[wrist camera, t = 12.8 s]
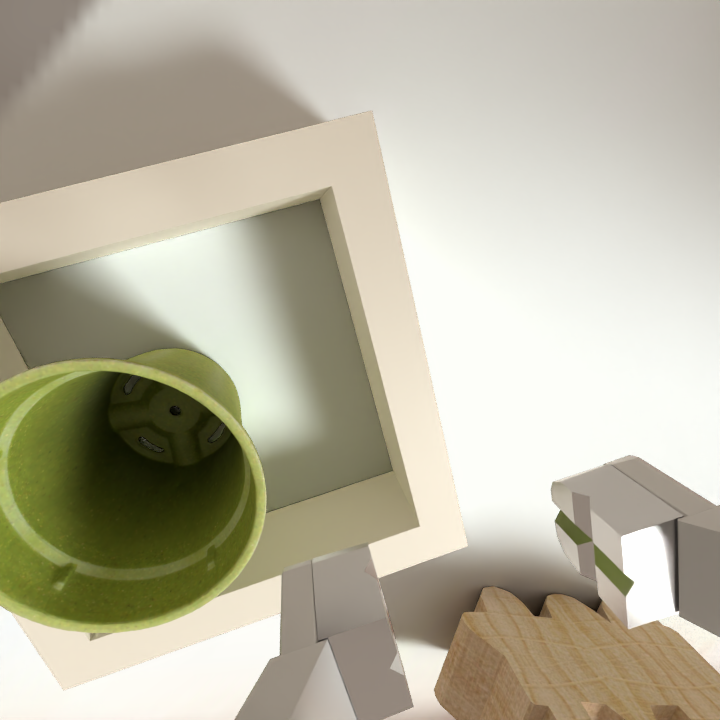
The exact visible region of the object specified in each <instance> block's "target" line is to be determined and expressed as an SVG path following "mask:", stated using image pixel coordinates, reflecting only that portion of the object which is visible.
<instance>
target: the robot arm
mask: <svg viewBox="0 0 720 720" xmlns="http://www.w3.org/2000/svg"><path fill="white" fill-rule="evenodd" d="M551 495H552V501H553V502H554V503H555V504H556V505H557V506H558V507H559V508H560V509H561V510H560V512H559V514H558V516H557V518H556V520H555V526H556V532H557V537H558V539H559V542H560V544H561V547H562V549H563V551H564V553H565V555H566V556H567V558H568V559H569V561H570V563H571V564H572V565H573V566H574V567H575V569H576V570H577V571H578V572H579V573H580V575H583V576H585V577H587V578H590V579H592V580H595V581H597V587H598V595H599V597H600V598H601V599H602V600H603V601H604V602H605V603H606V605H607V606H608V607H609V608H610V609H611V610H612V611H613V613H614V614H615V615H616V616H617V617H618V618H619V619H620V621H621V622H622V623H623V624H624V625H625V626H626V627H627V629H631V628H634V627H637V626H640V625H643V624H646V623H650V622H653V621H656V620H659V619H662V618H665V617H668V616H671V615H674V614H677V613H679V616H680V617H682V618H684V619H686V620H688V621H689V622H691V623H693V624H695V625H697V626H699V627H701V628H703V629H705V630H707V631H709V632H711V633H713V634H715V635H717V636H719V637H720V505H719V506H716V505H714V504H713V503H711V502H710V501H708V500H706V499H705V498H703V497H702V496H700V495H698V494H697V493H695V492H693V491H692V490H690V489H689V488H687V487H685V486H684V485H682V484H681V483H679V482H677V481H676V480H674V479H673V478H671V477H669V476H668V475H666V474H665V473H663V472H661V471H660V470H658V469H657V468H655V467H653V466H652V465H650V464H649V463H647V462H645V461H644V460H642V459H641V458H639V457H636V456H631V455H628V456H625V457H623V458H620V459H617V460H614V461H611V462H608V463H605V464H604V465H602V466H599V467H596V468H593V469H590V470H587V471H584V472H581V473H578V474H575V475H572V476H569V477H566V478H563V479H560V480H557V481H554V482H553V483H552V487H551ZM395 639H396V638H395V635H394V631H393V627H392V624H391V620H390V617H389V613H388V609H387V606H386V602H385V599H384V595H383V592H382V588H381V585H380V581H379V579H378V576H377V572H376V568H375V565H374V561H373V558H372V555H371V552H370V548H369V545H368V542H366V543H363V544H359V545H356V546H353V547H349V548H346V549H342V550H339V551H336V552H332V553H329V554H326V555H322V556H319V557H316V558H313V560H307V561H304V562H301V563H298V564H294V565H291V566H288V567H284V570H283V573H282V579H281V624H280V656H277V657H275V658H272V659H270V660H269V662H268V664H267V665H266V667H265V669H264V671H263V672H262V674H261V676H260V677H259V679H258V681H257V682H256V684H255V686H254V687H253V689H252V691H251V693H250V694H249V696H248V698H247V699H246V701H245V703H244V704H243V706H242V708H241V709H240V711H239V713H238V715H237V716H236V718H235V720H382V719H385V718H387V717H390V716H392V715H395V714H397V713H400V712H402V711H405V710H407V709H410V708H412V707H413V703H412V699H411V695H410V691H409V688H408V684H407V680H406V676H405V672H404V668H403V665H402V661H401V658H400V654H399V651H398V647H397V644H396V640H395Z"/></svg>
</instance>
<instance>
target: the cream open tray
mask: <svg viewBox="0 0 720 720" xmlns="http://www.w3.org/2000/svg"><path fill="white" fill-rule="evenodd" d="M317 199H320V202H321V205H322V209H323V213H324V216H325V220H326V224H327V228H328V231H329V235H330V239H331V242H332V246H333V250H334V253H335V257H336V261H337V265H338V268H339V272H340V276H341V279H342V283H343V287H344V291H345V294H346V298H347V302H348V305H349V309H350V313H351V317H352V320H353V324H354V328H355V331H356V335H357V339H358V342H359V346H360V350H361V354H362V357H363V361H364V365H365V368H366V372H367V376H368V380H369V383H370V387H371V391H372V394H373V398H374V402H375V406H376V409H377V413H378V417H379V420H380V424H381V428H382V431H383V435H384V439H385V443H386V446H387V450H388V454H389V457H390V461H391V465H392V469H393V471H391V472H388V473H385V474H382V475H379V476H376V477H373V478H370V479H367V480H364V481H361V482H358V483H355V484H352V485H349V486H346V487H343V488H340V489H337V490H334V491H331V492H328V493H325V494H322V495H319V496H316V497H313V498H310V499H307V500H304V501H301V502H298V503H295V504H292V505H289V506H286V507H283V508H280V509H277V510H274V511H271V512H268V513H266V515H265V521H264V526H263V530H262V533H261V536H260V539H259V542H258V545H257V547H256V549H255V551H254V553H253V555H252V557H251V558H250V560H249V561H248V563H247V564H246V566H245V567H244V569H243V570H242V572H241V573H240V574H239V576H238V577H237V578H236V579H235V580H234V581H233V582H232V583H231V584H230V585H229V586H228V587H227V588H226V589H225V590H224V591H222V592H221V593H220V594H219V595H218V596H217V597H215V598H214V599H213V600H211V601H210V602H208V603H207V604H205V605H204V606H202V607H201V608H199V609H197V610H195V611H193V612H192V613H189V614H187V615H185V616H183V617H180V618H178V619H176V620H173V621H171V622H168V623H165V624H162V625H159V626H155V627H151V628H146V629H142V630H137V631H128V632H120V633H85V632H76V631H66V630H61V629H57V628H52V627H48V626H44V625H42V624H39V623H36V622H33V621H30V620H28V619H26V618H23V617H21V616H18V615H16V614H14V613H12V612H11V613H12V615H13V616H14V618H15V619H16V620H17V622H18V623H19V625H20V626H21V628H22V629H23V631H24V632H25V634H26V635H27V637H28V638H29V640H30V641H31V643H32V644H33V646H34V647H35V649H36V650H37V652H38V653H39V655H40V656H41V658H42V659H43V661H44V662H45V664H46V665H47V667H48V668H49V670H50V671H51V673H52V674H53V675H54V677H55V678H56V680H57V681H58V683H59V684H60V686H61V687H62V689H63V690H67V689H69V688H72V687H75V686H78V685H81V684H83V683H86V682H89V681H92V680H95V679H97V678H100V677H103V676H106V675H109V674H111V673H114V672H117V671H120V670H123V669H126V668H128V667H131V666H134V665H137V664H140V663H142V662H145V661H148V660H151V659H154V658H156V657H159V656H162V655H165V654H168V653H170V652H173V651H176V650H179V649H182V648H184V647H187V646H190V645H193V644H196V643H198V642H201V641H204V640H207V639H210V638H212V637H215V636H218V635H221V634H224V633H226V632H229V631H232V630H235V629H238V628H240V627H243V626H246V625H249V624H252V623H254V622H257V621H260V620H263V619H266V618H268V617H271V616H274V615H277V614H280V613H281V579H282V573H283V570H284V567H288V566H291V565H294V564H298V563H301V562H304V561H307V560H313V558H316V557H319V556H322V555H326V554H329V553H332V552H336V551H339V550H342V549H346V548H349V547H353V546H356V545H359V544H363V543H366V542H368V545H369V548H370V552H371V555H372V558H373V561H374V565H375V568H376V572H377V576H378V578H381V577H383V576H386V575H389V574H392V573H395V572H397V571H400V570H403V569H406V568H409V567H411V566H414V565H417V564H420V563H423V562H425V561H428V560H431V559H434V558H437V557H439V556H442V555H445V554H448V553H451V552H453V551H456V550H459V549H462V548H465V547H467V546H468V544H467V539H466V535H465V530H464V526H463V521H462V516H461V512H460V507H459V503H458V498H457V494H456V489H455V485H454V480H453V476H452V471H451V467H450V462H449V457H448V453H447V448H446V444H445V439H444V435H443V430H442V426H441V421H440V417H439V412H438V408H437V403H436V398H435V394H434V389H433V385H432V380H431V376H430V371H429V367H428V362H427V358H426V353H425V349H424V344H423V339H422V335H421V330H420V326H419V321H418V317H417V312H416V308H415V303H414V299H413V294H412V290H411V285H410V280H409V276H408V271H407V267H406V262H405V258H404V253H403V249H402V244H401V240H400V235H399V231H398V226H397V221H396V217H395V212H394V208H393V203H392V199H391V194H390V190H389V185H388V181H387V176H386V172H385V167H384V162H383V158H382V153H381V149H380V144H379V140H378V135H377V131H376V126H375V122H374V117H373V113H372V111H368V112H364V113H360V114H356V115H352V116H348V117H344V118H340V119H336V120H332V121H328V122H324V123H320V124H316V125H311V126H307V127H303V128H299V129H295V130H291V131H287V132H283V133H279V134H275V135H271V136H267V137H263V138H259V139H255V140H251V141H247V142H243V143H239V144H235V145H231V146H227V147H223V148H219V149H215V150H211V151H207V152H202V153H198V154H194V155H190V156H186V157H182V158H178V159H174V160H170V161H166V162H162V163H158V164H154V165H150V166H146V167H142V168H138V169H134V170H130V171H126V172H122V173H118V174H114V175H110V176H106V177H102V178H98V179H94V180H89V181H85V182H81V183H77V184H73V185H69V186H65V187H61V188H57V189H53V190H49V191H45V192H41V193H37V194H33V195H29V196H25V197H21V198H17V199H13V200H9V201H5V202H1V203H0V284H1V283H4V282H8V281H12V280H16V279H19V278H23V277H27V276H31V275H35V274H38V273H42V272H46V271H50V270H53V269H57V268H61V267H65V266H68V265H72V264H76V263H80V262H84V261H87V260H91V259H95V258H99V257H102V256H106V255H110V254H114V253H118V252H121V251H125V250H129V249H133V248H136V247H140V246H144V245H148V244H151V243H155V242H159V241H163V240H167V239H170V238H174V237H178V236H182V235H185V234H189V233H193V232H197V231H201V230H204V229H208V228H212V227H216V226H219V225H223V224H227V223H231V222H234V221H238V220H242V219H246V218H250V217H253V216H257V215H261V214H265V213H268V212H272V211H276V210H280V209H284V208H287V207H291V206H295V205H299V204H302V203H306V202H310V201H314V200H317ZM26 370H29V369H28V367H27V366H26V364H25V362H24V360H23V358H22V356H21V354H20V352H19V350H18V349H17V347H16V345H15V343H14V341H13V339H12V337H11V335H10V334H9V332H8V330H7V328H6V326H5V324H4V322H3V320H2V319H1V317H0V382H2V381H4V380H6V379H8V378H10V377H12V376H14V375H16V374H18V373H21V372H24V371H26Z"/></svg>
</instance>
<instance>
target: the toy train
mask: <svg viewBox="0 0 720 720" xmlns="http://www.w3.org/2000/svg"><path fill="white" fill-rule="evenodd" d="M434 691H435V696H436V698H437V700H438V701H439V703H440V705H441V706H442V707H443V708H444V709H445V710H447V711H448V712H449V713H450V714H451V715H452V716H453V717H454V718H455V719H456V720H720V674H719V673H718V672H717V671H716V670H715V669H714V668H713V667H712V666H711V665H710V664H709V663H708V662H707V661H706V660H705V659H704V658H703V657H702V656H701V655H700V654H699V653H698V652H697V651H696V650H695V649H694V648H693V647H692V646H691V645H690V644H689V643H688V642H687V641H686V640H685V639H684V638H683V637H682V636H681V635H680V634H679V633H677V632H676V631H674V630H673V629H671V628H669V627H666V626H663V625H662V624H661V623H660V622H659V621H658V620H656V621H653V622H650V623H646V624H643V625H640V626H637V627H634V628H631V629H627V627H626V626H625V625H624V624H623V623H622V622H621V621H620V619H619V618H618V617H617V616H616V615H615V614H614V613H613V611H612V610H611V609H610V608H609V607H608V606H607V605H606V603H605V602H604V601H603V600H602V602H601V604H600V606H599V608H598V610H597V613H596V612H595V611H594V610H592V609H591V608H589V607H588V606H586V605H584V604H583V603H581V602H580V601H578V600H576V599H575V598H573V597H570V596H566V595H563V594H552V595H548V596H547V597H546V600H545V602H544V605H543V607H542V609H541V612H540V614H539V617H538V616H534V615H533V614H532V613H531V612H530V611H529V609H528V608H527V607H526V606H525V605H524V603H523V602H522V601H520V600H519V599H518V598H517V597H515V596H514V595H513V594H512V593H510V592H508V591H506V590H503V589H500V588H497V587H495V586H491V587H485V588H483V589H482V592H481V595H480V597H479V600H478V602H477V605H476V607H475V610H474V612H464V613H463V614H462V616H461V619H460V622H459V624H458V627H457V630H456V632H455V635H454V638H453V640H452V643H451V646H450V648H449V651H448V654H447V656H446V659H445V662H444V664H443V667H442V670H441V672H440V675H439V678H438V680H437V683H436V686H435V688H434Z"/></svg>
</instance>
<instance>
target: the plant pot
mask: <svg viewBox="0 0 720 720" xmlns="http://www.w3.org/2000/svg"><path fill="white" fill-rule="evenodd" d="M132 375H137V376H141V378H140V379H139V381H137V383H136V384H135V385H134V387H133V388H132V392H131V393H130V394H128V395H126V394H125V392H124V386H125V384H126V383H127V382H128V380H129V379H130V378H131V376H132ZM173 406H177V407H178V408H180V410H181V413H180V414H179V415H176V416H175V415H172V414H171V412H170V411H169V410H170V408H171V407H173ZM222 422H223V423H224V424H225V428H224V431H223V433H222V435H221V436H220V437H219V438H218V439H217V440H216V441H214V442H212V443H210V442H208V438H209V437H211V436H212V434H213V433H214V432H215V431H216V430H217V429H218V427H219V425H221V423H222ZM139 437H143V438H145V439H147V440H148V441H149V442H150V443H151V444H153V445H155V446H157V447H160V448H162V449H164V451H163V452H160V453H159V452H156V451H153V450H151V449H149V448H147V447H145V446H144V445H142V444H141V443H140V441H139ZM266 502H267V494H266V484H265V477H264V472H263V468H262V464H261V461H260V458H259V455H258V453H257V450H256V448H255V446H254V444H253V442H252V440H251V438H250V437H249V435H248V434H247V432H246V430H245V429H244V428H243V426H242V421H241V408H240V401H239V396H238V393H237V390H236V387H235V385H234V383H233V382H232V380H231V378H230V377H229V375H228V374H227V373H226V372H225V371H224V370H223V369H222V368H221V367H220V366H219V365H218V364H217V363H215V362H214V361H213V360H211V359H209V358H208V357H206V356H204V355H201V354H199V353H196V352H193V351H190V350H186V349H178V348H170V349H158V350H153V351H150V352H146V353H143V354H140V355H137V356H134V357H132V358H129V359H126V360H120V359H111V358H80V359H71V360H64V361H58V362H53V363H49V364H46V365H42V366H38V367H35V368H32V369H29V370H26V371H24V372H21V373H18V374H16V375H14V376H12V377H10V378H8V379H6V380H4V381H2V382H0V606H2V607H3V608H5V609H6V610H8V611H10V612H12V613H14V614H16V615H18V616H21V617H23V618H26V619H28V620H30V621H33V622H36V623H39V624H42V625H44V626H48V627H52V628H57V629H61V630H66V631H76V632H85V633H120V632H128V631H137V630H142V629H146V628H151V627H155V626H159V625H162V624H165V623H168V622H171V621H173V620H176V619H178V618H180V617H183V616H185V615H187V614H189V613H192V612H193V611H195V610H197V609H199V608H201V607H202V606H204V605H205V604H207V603H208V602H210V601H211V600H213V599H214V598H215V597H217V596H218V595H219V594H220V593H221V592H222V591H224V590H225V589H226V588H227V587H228V586H229V585H230V584H231V583H232V582H233V581H234V580H235V579H236V578H237V577H238V576H239V574H240V573H241V572H242V570H243V569H244V567H245V566H246V564H247V563H248V561H249V560H250V558H251V557H252V555H253V553H254V551H255V549H256V547H257V545H258V542H259V539H260V536H261V533H262V530H263V526H264V521H265V515H266Z"/></svg>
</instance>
